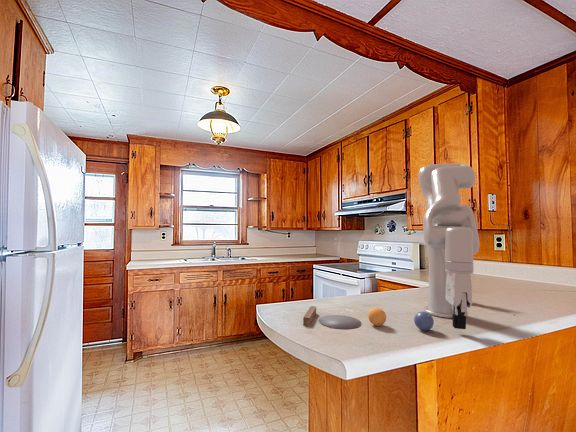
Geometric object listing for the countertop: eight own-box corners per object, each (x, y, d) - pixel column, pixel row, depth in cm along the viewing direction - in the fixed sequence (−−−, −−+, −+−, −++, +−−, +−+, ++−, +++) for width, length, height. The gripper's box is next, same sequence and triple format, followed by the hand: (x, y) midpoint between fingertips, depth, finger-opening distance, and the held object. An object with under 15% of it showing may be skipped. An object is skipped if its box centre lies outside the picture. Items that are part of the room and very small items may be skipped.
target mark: (336, 313, 109) (336, 312, 109) (369, 323, 99) (369, 322, 99) (309, 320, 100) (309, 319, 100) (342, 332, 89) (342, 331, 89)
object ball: (374, 321, 100) (374, 304, 100) (389, 325, 96) (389, 308, 96) (364, 324, 97) (364, 307, 97) (380, 329, 92) (380, 311, 93)
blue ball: (419, 325, 97) (419, 308, 97) (436, 330, 93) (436, 312, 93) (410, 329, 93) (410, 311, 93) (428, 334, 89) (428, 315, 89)
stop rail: (316, 313, 108) (316, 306, 108) (309, 325, 95) (309, 317, 95) (310, 312, 109) (310, 306, 109) (303, 325, 95) (303, 317, 95)
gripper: (439, 264, 99) (439, 319, 98) (452, 269, 85) (452, 335, 84) (464, 265, 97) (464, 321, 97) (482, 271, 83) (482, 338, 82)
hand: (459, 327), depth 90 cm, fingers closed
